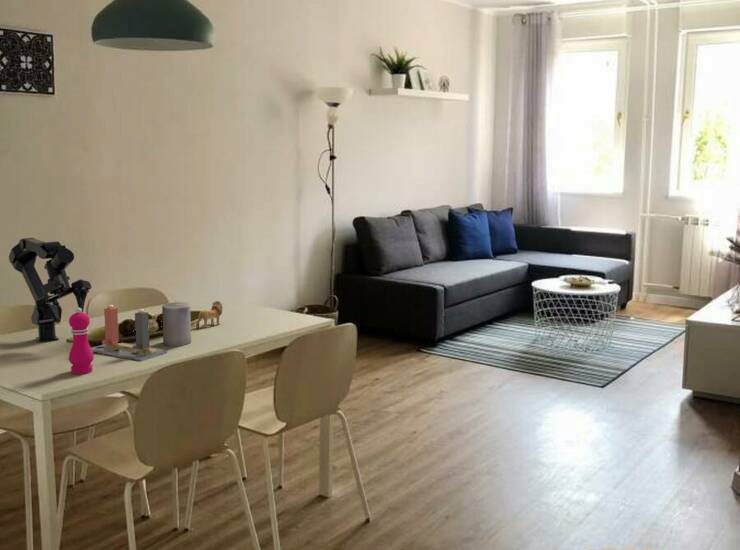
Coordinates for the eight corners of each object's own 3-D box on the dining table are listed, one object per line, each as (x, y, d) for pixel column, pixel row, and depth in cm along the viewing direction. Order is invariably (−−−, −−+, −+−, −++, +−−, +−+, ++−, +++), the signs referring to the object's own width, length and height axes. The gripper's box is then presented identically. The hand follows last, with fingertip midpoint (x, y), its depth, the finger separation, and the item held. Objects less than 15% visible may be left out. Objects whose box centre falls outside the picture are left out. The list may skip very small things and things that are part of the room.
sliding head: (100, 347, 274) (98, 306, 272) (112, 343, 279) (110, 304, 277) (106, 348, 273) (105, 307, 271) (118, 344, 277) (117, 305, 275)
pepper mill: (64, 372, 248) (60, 308, 245) (83, 367, 254) (80, 304, 251) (80, 376, 244) (76, 311, 241) (99, 370, 250) (96, 307, 247)
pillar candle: (163, 340, 290) (162, 299, 287) (191, 338, 292) (190, 298, 289) (162, 347, 280) (161, 304, 278) (191, 345, 282) (190, 303, 280)
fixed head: (131, 352, 268) (129, 311, 265) (142, 348, 272) (141, 308, 270) (137, 353, 266) (136, 312, 264) (149, 349, 271) (147, 309, 269)
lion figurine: (214, 321, 320) (214, 299, 319) (226, 323, 318) (225, 300, 317) (192, 329, 307) (191, 305, 306) (203, 330, 305) (203, 307, 304)
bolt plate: (88, 351, 273) (88, 345, 273) (115, 344, 283) (114, 338, 283) (141, 360, 262) (140, 354, 261) (167, 352, 272) (166, 347, 272)
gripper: (19, 282, 271) (31, 325, 268) (67, 260, 268) (80, 304, 265) (40, 287, 282) (52, 328, 278) (85, 266, 279) (98, 307, 276)
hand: (70, 317), depth 274 cm, fingers open, 9 cm apart
